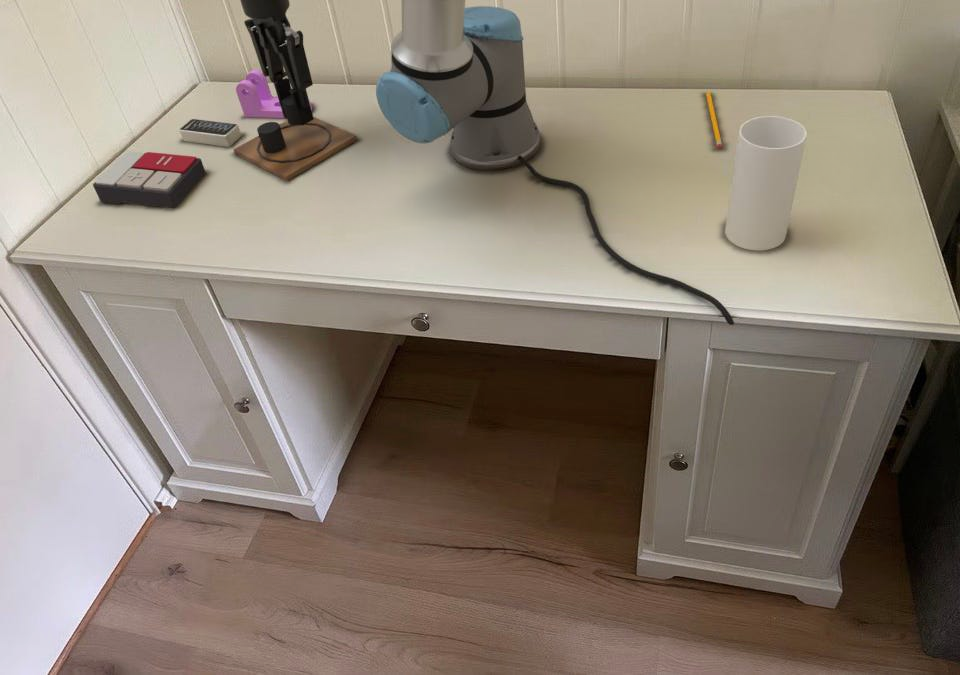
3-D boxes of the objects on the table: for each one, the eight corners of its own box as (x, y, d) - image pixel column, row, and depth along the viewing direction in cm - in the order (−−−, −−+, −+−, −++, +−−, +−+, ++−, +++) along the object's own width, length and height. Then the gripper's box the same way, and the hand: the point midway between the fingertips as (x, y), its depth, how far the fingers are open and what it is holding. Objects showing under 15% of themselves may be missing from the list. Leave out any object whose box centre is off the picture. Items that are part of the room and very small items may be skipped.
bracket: (244, 116, 153) (233, 83, 148) (257, 102, 157) (246, 69, 152) (305, 118, 150) (295, 84, 145) (316, 104, 154) (307, 70, 149)
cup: (749, 257, 108) (767, 155, 96) (713, 227, 113) (725, 127, 102) (798, 238, 109) (821, 136, 98) (760, 209, 115) (778, 109, 104)
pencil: (717, 149, 128) (717, 145, 127) (705, 95, 141) (706, 91, 140) (722, 149, 128) (722, 145, 127) (710, 95, 140) (710, 91, 140)
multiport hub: (229, 147, 145) (225, 135, 143) (182, 140, 149) (177, 129, 147) (242, 134, 148) (238, 123, 146) (196, 129, 151) (191, 118, 150)
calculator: (167, 189, 129) (89, 181, 132) (176, 211, 132) (99, 202, 135) (200, 154, 137) (125, 146, 140) (207, 175, 140) (134, 167, 143)
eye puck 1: (290, 145, 141) (284, 125, 138) (272, 155, 139) (265, 135, 136) (277, 139, 143) (270, 119, 140) (259, 149, 141) (252, 129, 138)
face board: (357, 140, 142) (355, 134, 141) (287, 181, 134) (285, 175, 133) (303, 116, 151) (301, 110, 150) (234, 154, 143) (232, 148, 142)
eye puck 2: (314, 118, 142) (308, 97, 139) (296, 127, 140) (290, 107, 137) (300, 112, 144) (295, 92, 142) (283, 121, 142) (277, 101, 140)
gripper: (311, -13, 123) (344, 122, 139) (249, -31, 132) (287, 97, 149) (273, 5, 120) (311, 141, 136) (212, -16, 129) (255, 114, 145)
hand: (298, 118), depth 142 cm, fingers closed on eye puck 2, 4 cm apart
